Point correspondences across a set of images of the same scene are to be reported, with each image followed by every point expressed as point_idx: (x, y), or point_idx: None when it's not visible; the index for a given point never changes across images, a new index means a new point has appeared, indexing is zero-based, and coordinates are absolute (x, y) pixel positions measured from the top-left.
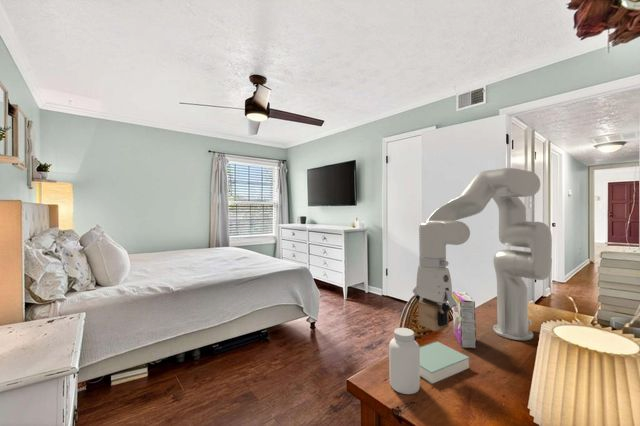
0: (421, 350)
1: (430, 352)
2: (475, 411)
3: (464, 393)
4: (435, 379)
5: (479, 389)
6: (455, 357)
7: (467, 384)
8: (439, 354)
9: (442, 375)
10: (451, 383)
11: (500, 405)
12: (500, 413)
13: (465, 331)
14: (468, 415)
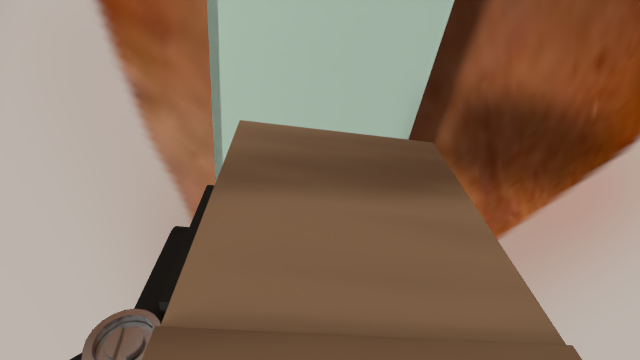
0: (246, 111)
1: (288, 93)
2: (518, 197)
3: (475, 153)
4: None
5: (516, 94)
6: (406, 33)
7: (471, 100)
8: (330, 73)
9: None
10: (423, 139)
11: (585, 123)
12: (583, 157)
13: None
14: (504, 220)
